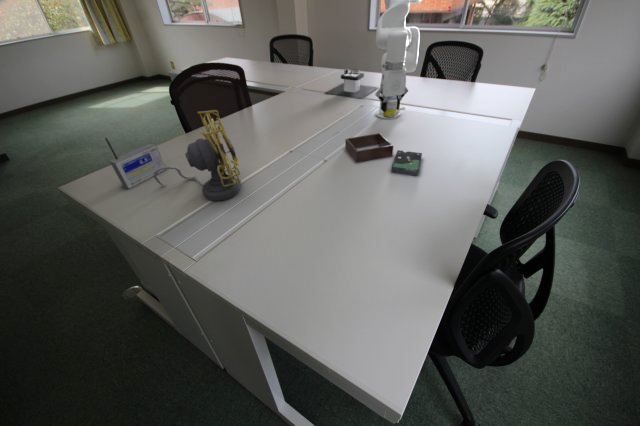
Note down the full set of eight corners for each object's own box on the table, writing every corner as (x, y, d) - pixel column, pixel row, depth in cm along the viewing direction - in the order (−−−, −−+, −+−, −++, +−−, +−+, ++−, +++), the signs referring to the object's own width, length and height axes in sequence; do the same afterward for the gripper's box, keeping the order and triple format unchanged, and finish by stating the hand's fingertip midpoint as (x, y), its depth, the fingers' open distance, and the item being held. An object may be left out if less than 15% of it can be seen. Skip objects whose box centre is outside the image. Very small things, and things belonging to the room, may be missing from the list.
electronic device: (128, 189, 115) (103, 141, 103) (119, 184, 118) (93, 138, 106) (167, 169, 126) (148, 124, 114) (157, 165, 129) (138, 121, 117)
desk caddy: (378, 143, 137) (379, 133, 134) (392, 156, 126) (393, 145, 123) (345, 149, 134) (345, 138, 131) (356, 162, 123) (356, 151, 120)
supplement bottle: (386, 114, 137) (389, 91, 130) (397, 116, 134) (400, 93, 128) (380, 117, 134) (382, 94, 127) (391, 120, 131) (394, 96, 124)
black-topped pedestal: (378, 87, 205) (379, 66, 196) (361, 98, 188) (362, 76, 180) (343, 83, 217) (343, 63, 209) (324, 93, 200) (323, 72, 192)
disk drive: (396, 155, 127) (390, 172, 116) (397, 149, 125) (391, 166, 114) (421, 158, 124) (418, 176, 113) (422, 152, 122) (419, 169, 111)
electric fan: (248, 205, 103) (228, 122, 85) (151, 224, 97) (106, 140, 78) (242, 169, 123) (224, 96, 104) (161, 184, 117) (127, 108, 98)
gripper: (379, 70, 116) (375, 115, 127) (418, 65, 119) (411, 110, 130) (371, 66, 122) (368, 109, 133) (408, 62, 125) (403, 104, 136)
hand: (390, 109), depth 132 cm, fingers closed on supplement bottle, 5 cm apart
